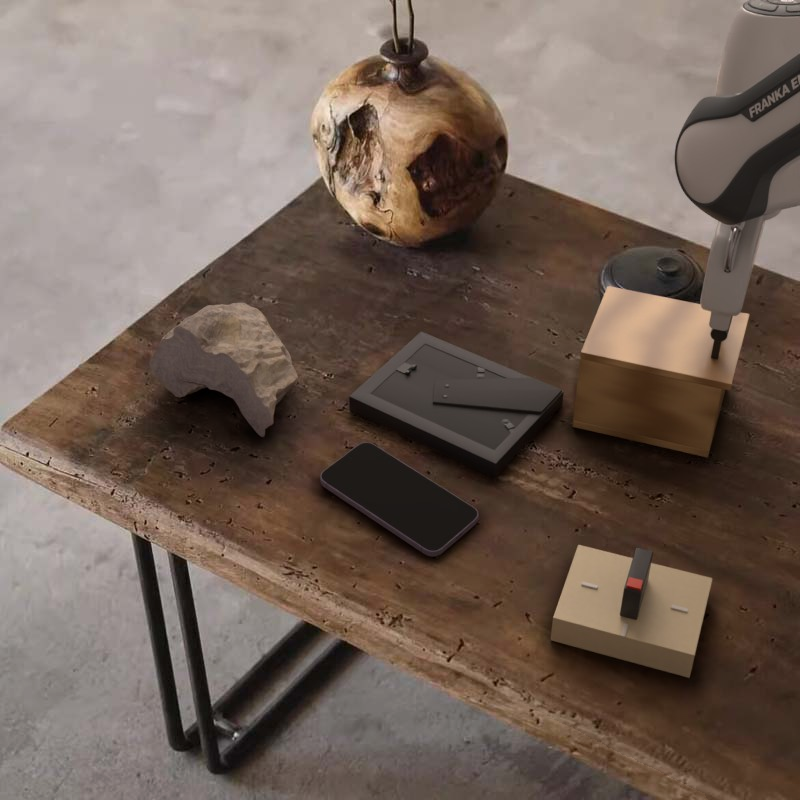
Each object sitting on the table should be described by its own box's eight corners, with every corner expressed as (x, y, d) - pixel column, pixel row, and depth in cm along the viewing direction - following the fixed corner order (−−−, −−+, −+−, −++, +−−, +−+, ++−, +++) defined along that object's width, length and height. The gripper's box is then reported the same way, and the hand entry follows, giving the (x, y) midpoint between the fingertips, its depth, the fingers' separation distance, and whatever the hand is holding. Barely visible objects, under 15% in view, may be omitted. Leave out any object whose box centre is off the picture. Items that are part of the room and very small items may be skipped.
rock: (149, 393, 139) (137, 313, 133) (234, 338, 148) (226, 261, 142) (260, 450, 132) (253, 369, 126) (343, 389, 140) (340, 310, 134)
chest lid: (748, 320, 133) (756, 282, 130) (730, 390, 125) (738, 352, 122) (606, 291, 137) (611, 255, 134) (579, 358, 129) (584, 320, 126)
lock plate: (707, 600, 117) (713, 576, 115) (689, 679, 110) (694, 655, 108) (575, 566, 120) (578, 542, 118) (549, 641, 113) (552, 617, 111)
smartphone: (433, 555, 120) (315, 476, 127) (433, 563, 121) (315, 484, 128) (483, 512, 124) (366, 438, 131) (482, 520, 125) (365, 446, 132)
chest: (726, 386, 139) (740, 319, 134) (707, 458, 131) (721, 389, 125) (598, 359, 143) (606, 292, 137) (572, 427, 134) (579, 359, 129)
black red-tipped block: (631, 574, 115) (636, 544, 113) (648, 578, 115) (653, 549, 112) (619, 616, 112) (624, 586, 109) (636, 620, 111) (642, 591, 109)
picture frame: (562, 405, 137) (421, 345, 145) (564, 388, 136) (421, 328, 143) (495, 478, 129) (348, 410, 136) (496, 461, 127) (348, 393, 135)
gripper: (773, 239, 108) (744, 369, 118) (802, 123, 123) (774, 247, 132) (696, 225, 110) (673, 354, 119) (734, 112, 125) (711, 235, 134)
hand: (727, 297), depth 126 cm, fingers open, 8 cm apart
